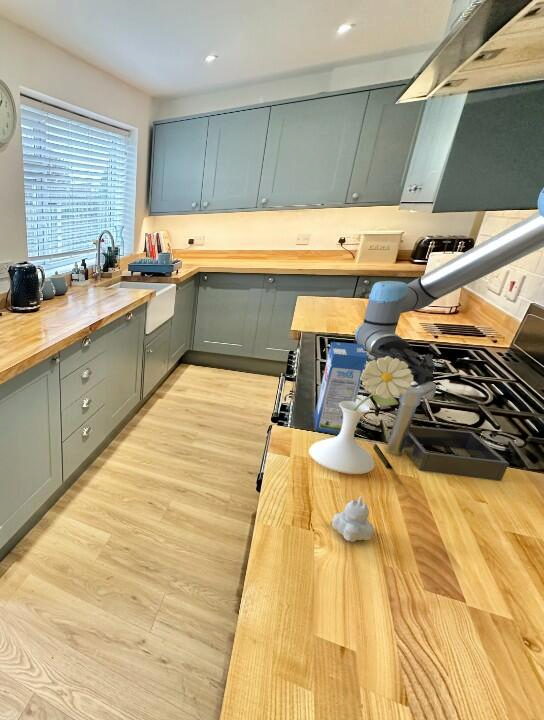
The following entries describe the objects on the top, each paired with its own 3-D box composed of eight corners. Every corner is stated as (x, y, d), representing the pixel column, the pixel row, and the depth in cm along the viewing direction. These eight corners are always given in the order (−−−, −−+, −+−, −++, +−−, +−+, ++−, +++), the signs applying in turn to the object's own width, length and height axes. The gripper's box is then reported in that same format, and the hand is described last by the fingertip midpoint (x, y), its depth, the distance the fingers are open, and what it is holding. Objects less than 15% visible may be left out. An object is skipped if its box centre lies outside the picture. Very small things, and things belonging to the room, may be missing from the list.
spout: (419, 393, 90) (424, 376, 89) (438, 398, 87) (444, 381, 86) (394, 406, 86) (399, 388, 84) (413, 411, 83) (419, 394, 81)
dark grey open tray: (464, 454, 90) (473, 431, 88) (498, 488, 79) (509, 463, 77) (393, 446, 94) (400, 424, 92) (416, 477, 84) (424, 453, 82)
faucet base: (395, 450, 92) (412, 396, 87) (410, 470, 86) (430, 413, 80) (373, 448, 94) (389, 394, 89) (386, 467, 87) (404, 410, 82)
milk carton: (346, 435, 99) (367, 356, 92) (315, 430, 102) (333, 353, 95) (343, 418, 107) (362, 344, 99) (314, 413, 110) (331, 341, 102)
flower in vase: (302, 467, 89) (328, 357, 79) (312, 444, 97) (336, 341, 87) (380, 489, 81) (419, 370, 71) (384, 462, 89) (419, 351, 79)
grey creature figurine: (370, 532, 71) (383, 494, 68) (367, 556, 66) (380, 516, 63) (332, 519, 74) (342, 482, 71) (326, 541, 70) (337, 502, 67)
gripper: (415, 363, 109) (461, 401, 89) (355, 360, 114) (386, 394, 93) (423, 336, 106) (473, 368, 86) (361, 333, 111) (395, 363, 91)
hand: (428, 382), depth 90 cm, fingers closed
